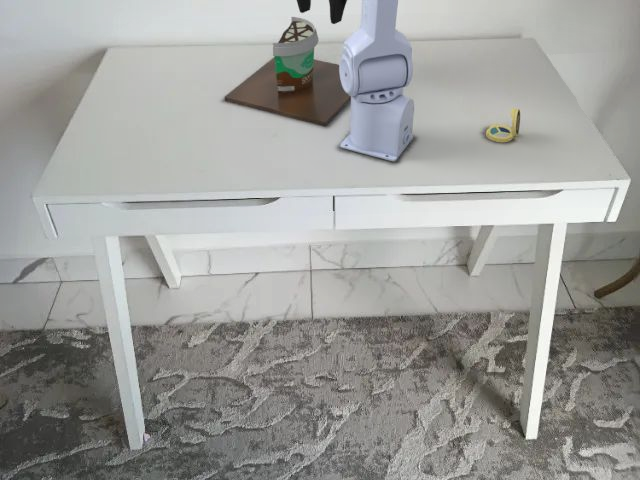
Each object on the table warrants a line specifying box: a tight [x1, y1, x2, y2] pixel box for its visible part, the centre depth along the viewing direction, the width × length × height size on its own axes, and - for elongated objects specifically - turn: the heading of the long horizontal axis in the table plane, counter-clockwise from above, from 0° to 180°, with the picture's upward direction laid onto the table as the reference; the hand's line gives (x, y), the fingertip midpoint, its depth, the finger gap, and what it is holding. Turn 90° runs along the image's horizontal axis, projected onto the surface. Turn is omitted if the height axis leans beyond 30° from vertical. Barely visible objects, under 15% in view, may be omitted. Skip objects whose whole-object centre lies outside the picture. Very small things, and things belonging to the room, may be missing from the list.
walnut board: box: [224, 57, 351, 127], centre depth 119 cm, size 20×20×1 cm
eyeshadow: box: [485, 107, 521, 143], centre depth 105 cm, size 4×5×5 cm
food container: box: [272, 16, 319, 95], centre depth 116 cm, size 12×6×10 cm, turn 166°
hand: (320, 16), depth 118 cm, fingers open, 7 cm apart
